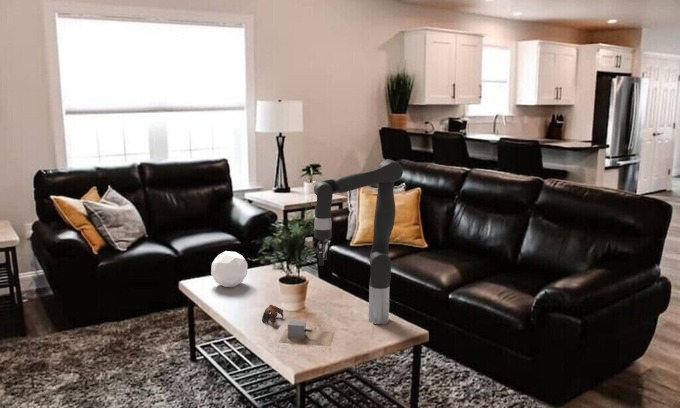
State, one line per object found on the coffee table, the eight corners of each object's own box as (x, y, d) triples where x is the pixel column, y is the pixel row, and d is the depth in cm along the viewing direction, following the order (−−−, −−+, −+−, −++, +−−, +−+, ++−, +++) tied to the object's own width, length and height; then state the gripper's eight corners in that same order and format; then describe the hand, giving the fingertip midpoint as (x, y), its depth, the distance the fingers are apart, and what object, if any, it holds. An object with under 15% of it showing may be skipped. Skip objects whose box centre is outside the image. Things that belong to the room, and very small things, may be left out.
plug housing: (312, 335, 249) (312, 322, 247) (310, 339, 244) (310, 326, 243) (290, 333, 250) (289, 320, 249) (287, 338, 246) (287, 324, 244)
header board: (334, 335, 253) (334, 324, 252) (330, 349, 239) (330, 338, 238) (285, 331, 255) (285, 321, 254) (278, 345, 242) (278, 334, 241)
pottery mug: (259, 318, 271) (266, 302, 272) (277, 326, 272) (284, 310, 274) (262, 322, 259) (269, 305, 260) (281, 330, 261) (288, 313, 262)
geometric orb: (239, 298, 313) (252, 275, 301) (203, 288, 307) (215, 265, 295) (242, 272, 327) (254, 249, 316) (208, 262, 321) (219, 239, 309)
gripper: (329, 231, 245) (328, 267, 249) (333, 223, 259) (333, 258, 262) (311, 230, 246) (311, 267, 250) (317, 223, 260) (317, 257, 263)
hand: (322, 262), depth 256 cm, fingers open, 8 cm apart
